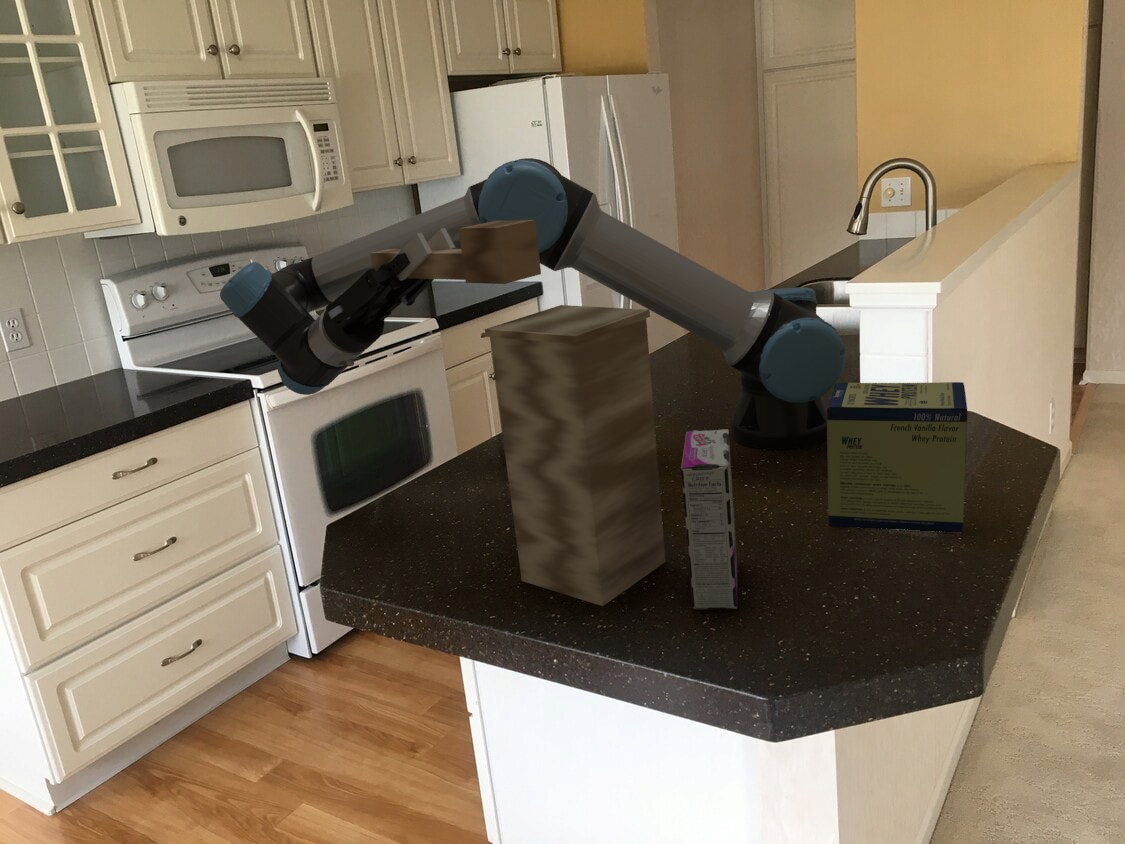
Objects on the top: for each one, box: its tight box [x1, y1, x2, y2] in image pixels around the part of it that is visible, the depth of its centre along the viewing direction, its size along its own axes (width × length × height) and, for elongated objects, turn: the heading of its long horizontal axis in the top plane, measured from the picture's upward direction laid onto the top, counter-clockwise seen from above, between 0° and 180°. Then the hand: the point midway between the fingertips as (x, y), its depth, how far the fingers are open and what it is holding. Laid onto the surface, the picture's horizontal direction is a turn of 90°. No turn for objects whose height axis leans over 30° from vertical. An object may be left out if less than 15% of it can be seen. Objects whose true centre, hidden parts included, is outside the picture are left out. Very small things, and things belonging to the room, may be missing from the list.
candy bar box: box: [680, 429, 738, 611], centre depth 100 cm, size 11×5×16 cm, turn 170°
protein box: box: [826, 381, 968, 533], centre depth 113 cm, size 10×16×16 cm
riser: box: [484, 304, 666, 607], centre depth 104 cm, size 13×13×30 cm
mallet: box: [370, 220, 542, 285], centre depth 109 cm, size 24×6×6 cm, turn 50°
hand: (436, 240), depth 109 cm, fingers closed on mallet, 3 cm apart
